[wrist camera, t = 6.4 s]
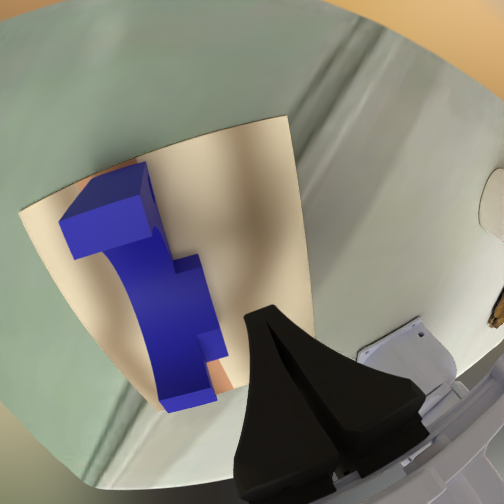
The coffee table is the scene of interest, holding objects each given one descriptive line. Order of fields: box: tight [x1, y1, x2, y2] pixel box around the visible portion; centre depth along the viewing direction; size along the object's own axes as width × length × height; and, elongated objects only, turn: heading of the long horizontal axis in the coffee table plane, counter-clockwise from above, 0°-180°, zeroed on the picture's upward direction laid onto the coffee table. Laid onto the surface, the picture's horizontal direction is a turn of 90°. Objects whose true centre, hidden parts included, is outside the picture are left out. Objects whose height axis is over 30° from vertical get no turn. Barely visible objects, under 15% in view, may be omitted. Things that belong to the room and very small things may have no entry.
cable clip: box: [58, 161, 229, 413], centre depth 14 cm, size 12×4×6 cm, turn 8°
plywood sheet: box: [19, 115, 315, 411], centre depth 19 cm, size 16×21×1 cm
